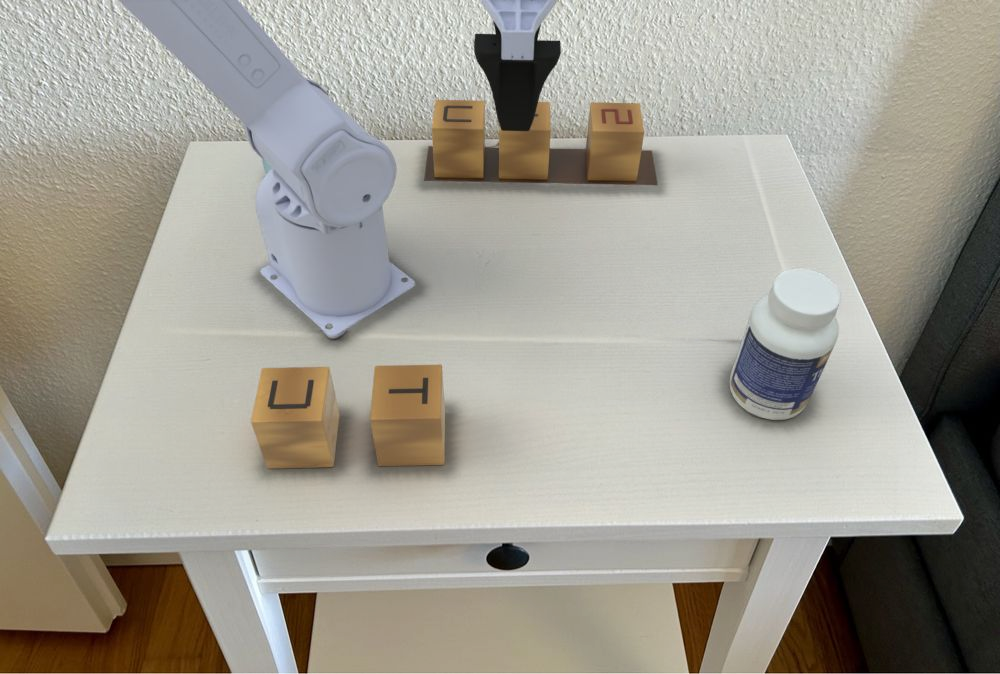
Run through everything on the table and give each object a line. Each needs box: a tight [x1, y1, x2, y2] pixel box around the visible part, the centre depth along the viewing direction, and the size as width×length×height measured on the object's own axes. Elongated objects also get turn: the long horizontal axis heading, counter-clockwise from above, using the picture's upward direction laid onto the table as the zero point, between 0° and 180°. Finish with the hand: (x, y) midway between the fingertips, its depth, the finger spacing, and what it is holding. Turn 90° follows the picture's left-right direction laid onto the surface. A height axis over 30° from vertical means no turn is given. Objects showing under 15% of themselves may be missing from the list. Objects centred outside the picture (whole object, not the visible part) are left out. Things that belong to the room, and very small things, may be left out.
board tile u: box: [431, 99, 486, 178], centre depth 72 cm, size 4×4×5 cm
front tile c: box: [250, 366, 341, 470], centre depth 53 cm, size 4×4×5 cm
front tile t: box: [369, 364, 446, 467], centre depth 53 cm, size 4×4×5 cm
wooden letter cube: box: [585, 101, 645, 181], centre depth 72 cm, size 4×4×5 cm
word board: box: [423, 145, 658, 186], centre depth 74 cm, size 20×5×1 cm, turn 89°
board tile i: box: [498, 101, 552, 180], centre depth 72 cm, size 4×4×5 cm
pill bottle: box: [729, 267, 842, 421], centre depth 54 cm, size 5×5×10 cm
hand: (515, 98), depth 63 cm, fingers open, 7 cm apart
